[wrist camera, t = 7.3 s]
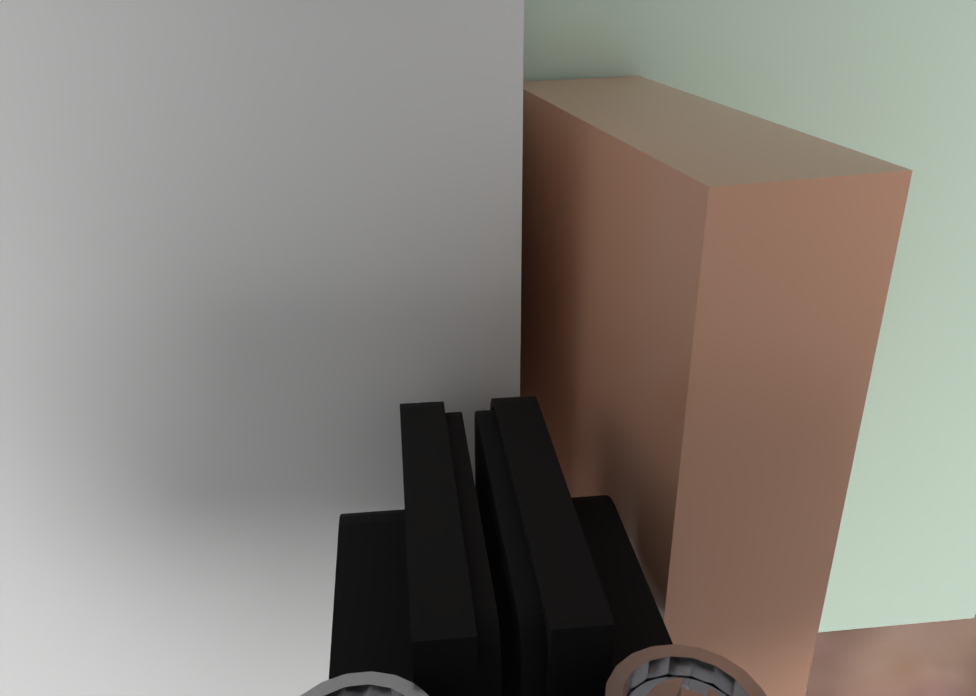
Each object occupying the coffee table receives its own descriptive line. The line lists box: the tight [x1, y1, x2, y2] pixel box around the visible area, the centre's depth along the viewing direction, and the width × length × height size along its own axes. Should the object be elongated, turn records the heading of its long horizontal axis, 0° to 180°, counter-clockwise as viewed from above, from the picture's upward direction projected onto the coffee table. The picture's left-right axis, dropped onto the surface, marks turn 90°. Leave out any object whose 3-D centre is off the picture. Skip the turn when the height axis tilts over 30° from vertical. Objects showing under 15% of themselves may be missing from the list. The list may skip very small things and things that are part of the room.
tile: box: [520, 76, 913, 696], centre depth 12 cm, size 9×6×2 cm
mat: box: [523, 0, 976, 632], centre depth 15 cm, size 16×10×1 cm, turn 0°
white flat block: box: [0, 0, 524, 696], centre depth 13 cm, size 22×12×4 cm, turn 0°
